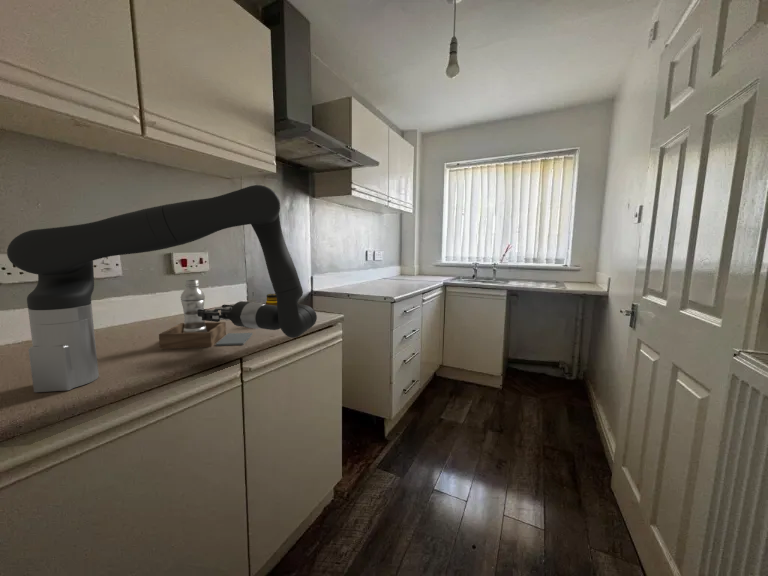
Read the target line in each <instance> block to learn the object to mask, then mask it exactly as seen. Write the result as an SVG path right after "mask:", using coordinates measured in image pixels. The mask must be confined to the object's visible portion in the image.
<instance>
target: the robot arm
mask: <svg viewBox="0 0 768 576" xmlns="http://www.w3.org/2000/svg"><path fill="white" fill-rule="evenodd" d="M280 211H281V201H280V199H279V196H278V194H277V193H276V192H275V191H274V190H273V189H272V188H270V187H268V186H265V185H261V184H254V185H249V186H247V187H243V188H240V189H237V190H234V191H231V192H228V193H224V194H221V195H217V196H212V197H208V198H201V199H192V200H185V201H180V202H174V203H173V202H172V203H167V204H162V205H157V206H152V207H147V208H142V209H139V210H135V211H131V212H126V213H123V214H119V215H115V216H112V217H107V218H105V219H104V218H103V219H100V220H96V221H93V222H92V221H91V222H88V223H80V224H73V225H65V226H59V227H49V228H47V227H46V228H37V229H31V230H27V231H25V232H22V233H20V234H18V235H17V236H15V237H14V238H13V239H12V240H11V241H10V243H9V244H8V246H7V250H6V256H7V258H8V260H9V262H10V263H11V264H12V265H13V266H15V267H16V268H17V269H20V270H21V271H24V272H26V273H29V274H34V275H37V276H38V277H37V284H36V286H35V288H34V289H33V290H32V291H31V292H29V294H28V295H27V296H26V304H27V311H28V319H29V327H30V336H31V344H32V345H31V346H30V347H29V348H28V356H29V365H30V372H31V379H32V387H33V393H45V392H46V393H47V392H48V393H50V392H64V391H70V390H72V389H75V388H77V387H81V386H84V385H86V384H87V385H88V384H90V383H92V382H94V381H96V380H97V379H98V378H99V376H100V375H99V365H98V355H97V347H96V346H97V345H96V338H95V337H96V334H95V329H94V328H95V326H94V317H93V316H94V314H93V306H92V295H93V292H94V290H95V276H94V275H95V273H94V261H97V260H100V259H103V258H104V259H105V258H109V257H115V256H123V255H135V254H141V253H149V252H150V253H151V252H154V251H161V250H166V249H169V248H174V247H177V246H178V247H179V246H183V245H185V244H189V243H192V242H195V241H199V240H200V239H203V238H205V237H207V236H209V235H213V234H215V233H217V232H219V231H222V230H226V229H229V228H234V227H235V228H236V227H240V226H247V225H251V227H252V229H253V231H254V233H255V235H256V236H257V239H258V242H259V245H260V247H261V250H262V253H263V256H264V261H265V264H266V269H267V274H268V275H269V279H270V282H271V286H272V288H273V291H274V294H276V297H277V306H275V305H266V303H265V304H264V303H260V302H253V301H243V300H242V301H237V302H236V303H234V304H232V305H231V304H225V303H224V304H222V305H221V307H216V308H214V309H206V308H204V309H198V310H197V314H198V316H199V317H202V320H205V322H206V321H207V322H221V321H231V323H232V324H233V325H234V326H236V327H242V328H249V329H259V330H260V329H261V330H262V329H264V330H269V331H276V330H277V331H278V330H280V329H281V331H282V333H283V334H284V335H285V336H286V337H288V338H293V339H294V338H298V337H300V336H301V335H303V334H304V333H305V332H307V331H308V330H309V329H311V328H313V327H314V325H315V324H316V322H317V318H318V315H317V313H316V311H315V309H313V308H312V307H311V306H309V305H306V304H302V303H301V304H300V303H299V300H300V299H301V298H302V297H303V294H304V291H303V287H302V283H301V281H300V277H299V275H298V271H297V269H296V267H295V263H294V261H293V258H292V257H291V254H290V252H289V250H288V247H287V244H286V242H285V241H286V240H285V237H284V235H283V230H282V225H281V224H282V223H281V220H280V219H281V218H280ZM219 311H220V312H219Z"/></svg>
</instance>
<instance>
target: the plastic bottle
mask: <svg viewBox="0 0 768 576" xmlns="http://www.w3.org/2000/svg"><path fill="white" fill-rule="evenodd" d="M184 283H185V284H184V285H185V289H184V290H183V292H182V293H181V294H180V302H181V306H182V309H183V310H182V311H183V319H184V321H183V323H184V330H183V333H192V332H207V329H206V326H205V322H206V321H205V320H202V317H199V316H198V314H197V310H198V309H205V299H206V298H205V297H206V296H205V294H204V292H203V291H202V289H201V288H200V287H199V286H200V280H199V279H186V280H184Z"/></svg>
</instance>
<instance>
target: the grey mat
mask: <svg viewBox="0 0 768 576" xmlns="http://www.w3.org/2000/svg"><path fill="white" fill-rule="evenodd" d="M252 336H253V332H235V333H233V332H231V333H230V332H229V333H226V335H225V336H224V337H222V338H221V339H220V340H219V341H218V342H216V343H215V347H221V346H223V347H224V346H243V345H245V343H246V342H247V341H248V340H249V339H250V337H252Z"/></svg>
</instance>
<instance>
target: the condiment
mask: <svg viewBox="0 0 768 576" xmlns="http://www.w3.org/2000/svg"><path fill="white" fill-rule="evenodd" d="M265 304H266V305H275V306H277V297H276V294H275V293H268V294H266V301H265Z"/></svg>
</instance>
